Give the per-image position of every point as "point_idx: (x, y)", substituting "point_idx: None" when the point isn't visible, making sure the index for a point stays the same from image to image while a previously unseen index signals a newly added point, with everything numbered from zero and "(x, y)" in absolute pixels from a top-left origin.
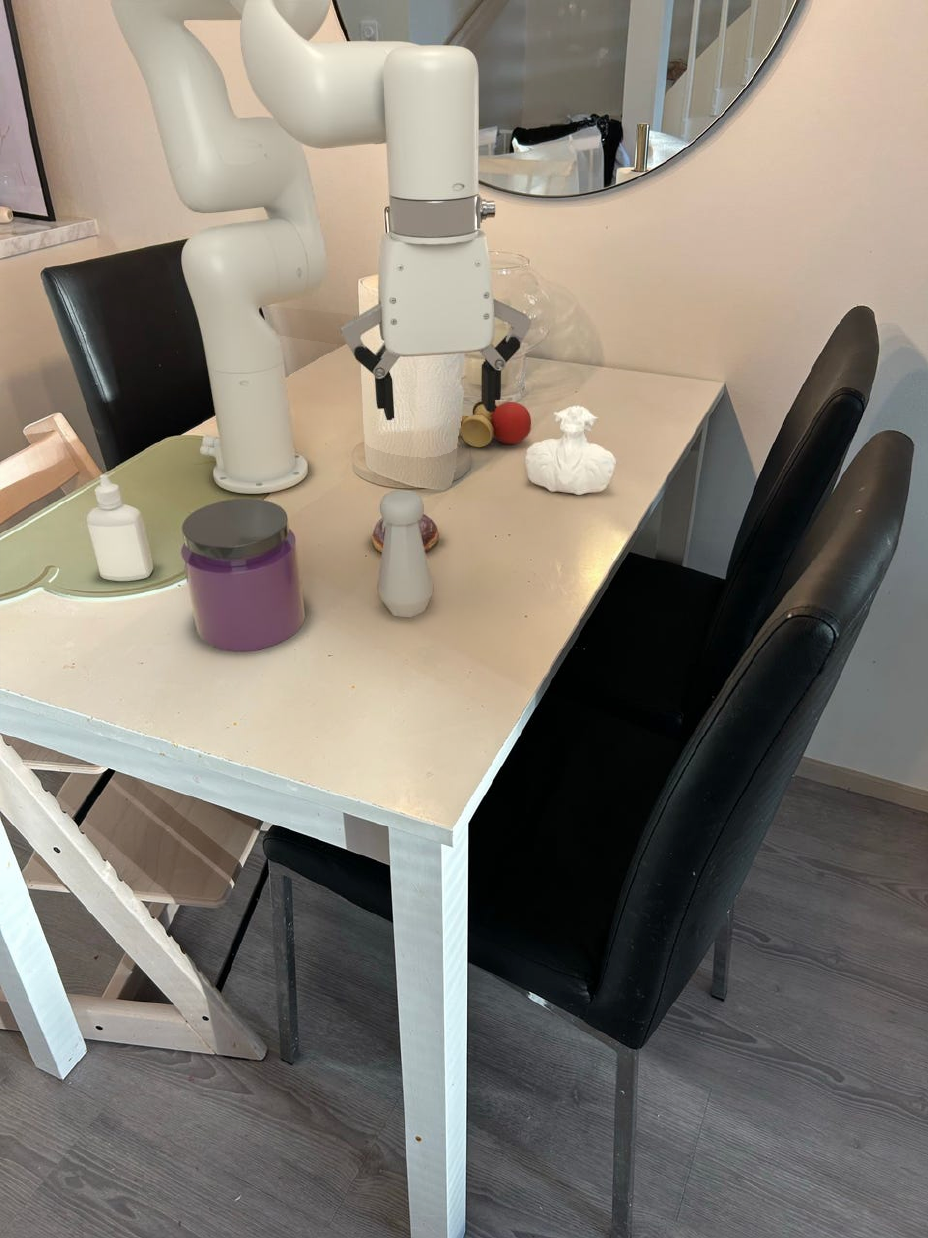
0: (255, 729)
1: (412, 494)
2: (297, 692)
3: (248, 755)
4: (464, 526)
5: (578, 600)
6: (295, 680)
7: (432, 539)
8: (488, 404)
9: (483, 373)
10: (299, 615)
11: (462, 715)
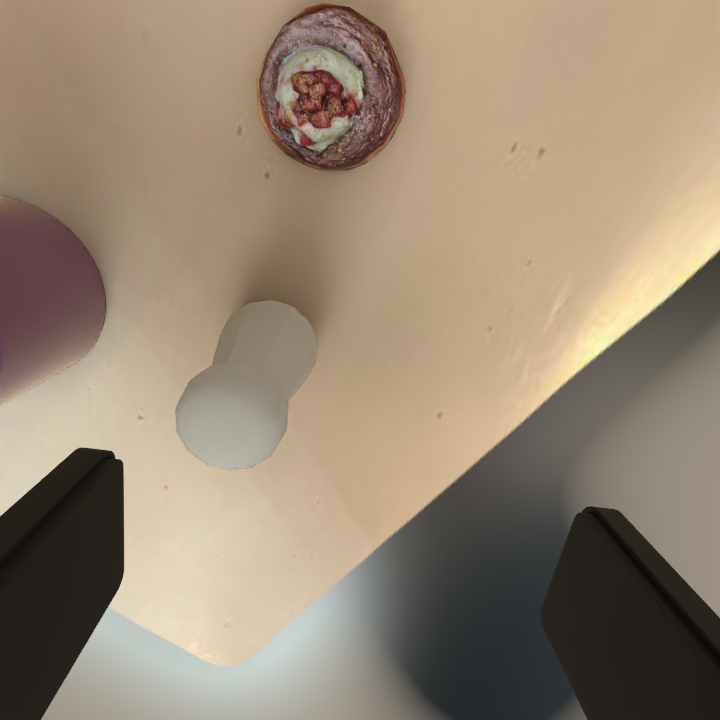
0: None
1: (256, 431)
2: None
3: None
4: (474, 75)
5: (531, 402)
6: None
7: (378, 148)
8: (556, 646)
9: (668, 697)
10: (86, 343)
11: (284, 564)
